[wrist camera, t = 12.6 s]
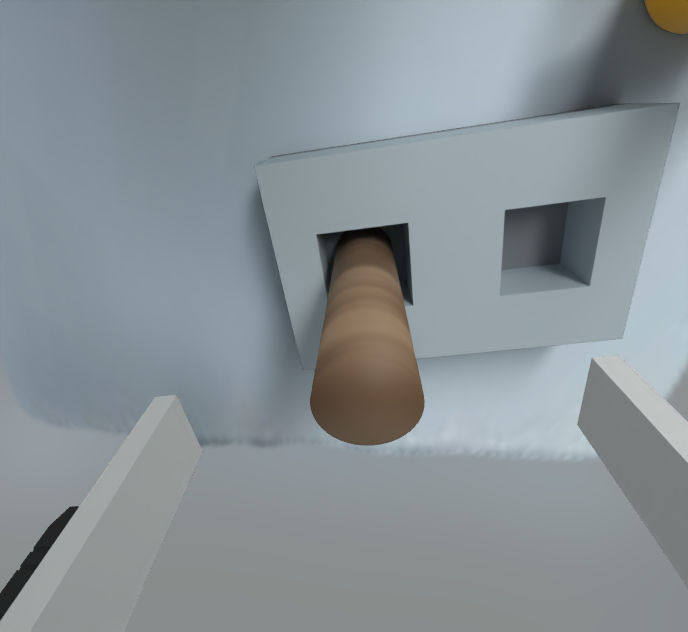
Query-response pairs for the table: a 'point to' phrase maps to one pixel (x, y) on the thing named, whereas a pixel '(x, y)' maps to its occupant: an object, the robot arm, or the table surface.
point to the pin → (366, 347)
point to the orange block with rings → (669, 14)
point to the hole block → (480, 225)
